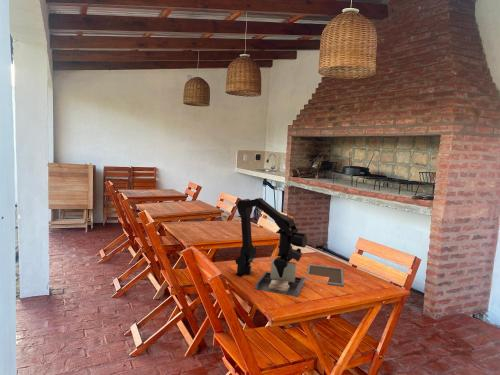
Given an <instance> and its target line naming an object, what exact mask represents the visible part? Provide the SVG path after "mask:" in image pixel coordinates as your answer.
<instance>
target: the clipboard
mask: <svg viewBox="0 0 500 375" xmlns="http://www.w3.org/2000/svg"><path fill="white" fill-rule="evenodd" d="M309 275H312V276H317V277H325V278H328V281H323V280H315V279H309ZM305 280H306V281H310V282H320V283H324V284H325V283H326V284H327V285H328V286H334V287H341V288H342V287H343V288H345V281H344V280H345V279H344V269H343V268H342V267H335V266H334V267H333V266H327V265H318V264H308V266H307V271H306V276H305Z"/></svg>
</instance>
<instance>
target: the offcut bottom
mask: <svg viewBox="0 0 500 375" xmlns="http://www.w3.org/2000/svg"><path fill="white" fill-rule="evenodd" d="M270 284H271V283H270ZM289 287H290V285H288V287H287V288H284V287H276V286H270V285H269V289H275V290H281V291H286V292H287V291H288V290H289Z"/></svg>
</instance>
